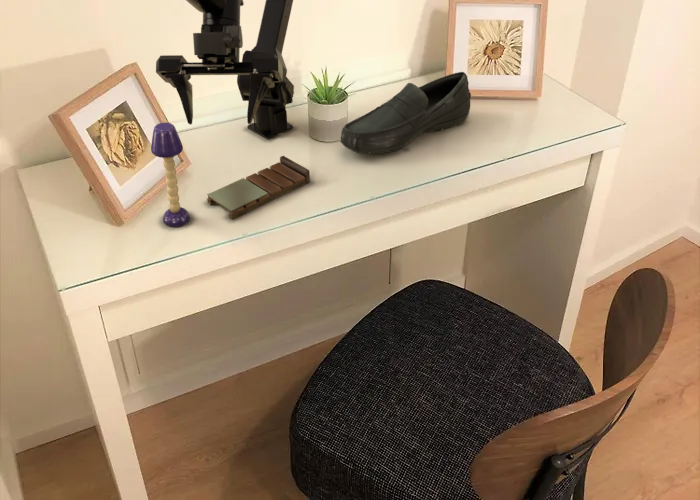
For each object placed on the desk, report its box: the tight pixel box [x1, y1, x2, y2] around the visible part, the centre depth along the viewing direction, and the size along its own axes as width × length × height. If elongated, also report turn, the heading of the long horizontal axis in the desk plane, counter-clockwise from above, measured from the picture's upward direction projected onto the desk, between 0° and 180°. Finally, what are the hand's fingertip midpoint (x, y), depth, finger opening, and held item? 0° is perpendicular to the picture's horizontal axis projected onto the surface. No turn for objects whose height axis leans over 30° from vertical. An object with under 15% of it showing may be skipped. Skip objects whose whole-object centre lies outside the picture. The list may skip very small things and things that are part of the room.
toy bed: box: [206, 155, 311, 221], centre depth 126 cm, size 16×7×2 cm, turn 134°
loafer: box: [340, 71, 472, 155], centre depth 140 cm, size 10×29×10 cm, turn 132°
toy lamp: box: [150, 122, 191, 228], centre depth 116 cm, size 5×5×17 cm
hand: (219, 123), depth 116 cm, fingers open, 9 cm apart
